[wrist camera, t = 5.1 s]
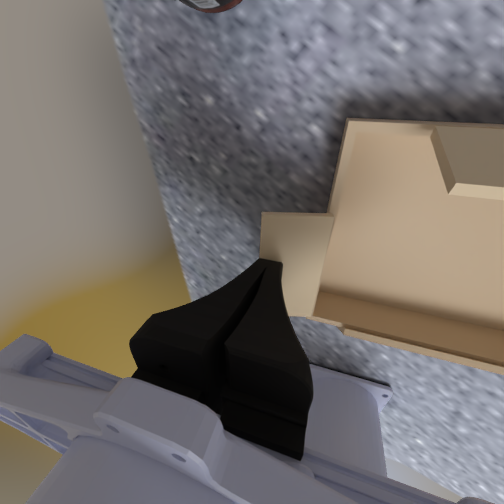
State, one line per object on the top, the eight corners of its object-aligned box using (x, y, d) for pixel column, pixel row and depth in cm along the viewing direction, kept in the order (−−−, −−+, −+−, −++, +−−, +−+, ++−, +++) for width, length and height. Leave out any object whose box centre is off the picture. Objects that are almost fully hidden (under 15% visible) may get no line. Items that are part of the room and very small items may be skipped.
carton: (581, 375, 16) (638, 438, 13) (305, 310, 20) (300, 345, 17) (915, 141, 8) (1261, 163, 5) (346, 117, 12) (349, 121, 9)
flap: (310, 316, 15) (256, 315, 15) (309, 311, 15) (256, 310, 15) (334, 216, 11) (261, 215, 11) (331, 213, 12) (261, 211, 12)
